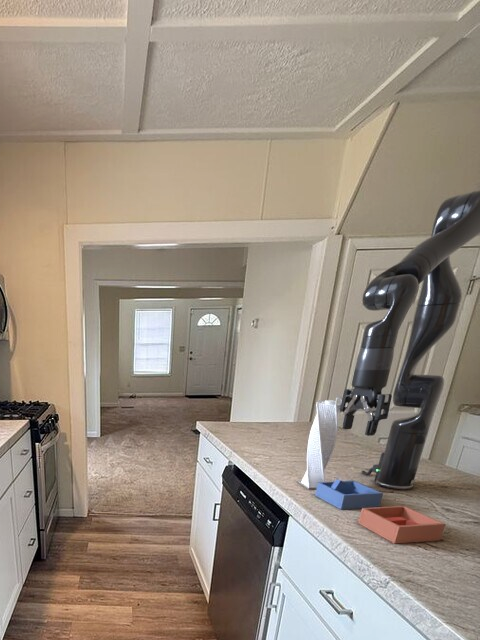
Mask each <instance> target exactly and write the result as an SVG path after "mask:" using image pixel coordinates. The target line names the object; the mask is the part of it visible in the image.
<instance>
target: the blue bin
mask: <svg viewBox="0 0 480 640" xmlns="http://www.w3.org/2000/svg"><path fill="white" fill-rule="evenodd" d="M342 481H343V482H345V483H348V484H350V485H352V486H354V487H355V489H354V490H353V491H355V492H357V493H360V494H344V493H342V492H340V491H337V490H335V489H333V488H331V486H332V485H333V483H334V482H335V481H325V482H318V484H317V489H315V494H314V496H315V497H317V498H319V499H321V500H323V501H325V503H326V502H327V503H328V504H330V505H331V506H334V507H336V508H338V509H340V510H353V509H356V510H357V509H362V508H374V507H381V503H382V499H383V495H384V493H383V492H381V491H379V490H377V489H375V488H372V487H370V486H368V485H365V484H364V483H363V484H362V483H360V482H358V481H356V480H342Z"/></svg>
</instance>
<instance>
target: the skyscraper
mask: <svg viewBox="0 0 480 640" xmlns="http://www.w3.org/2000/svg"><path fill="white" fill-rule="evenodd" d="M342 398H343V396H339V395H338V396H337V397H335V400H333V399H326V400H323V399H320V400H318V401H316V402H315V403H316V404H315V405H316V415H315V417H314V420H313V423H312V425H311V428H310V431H309V435H308V442H307V449H306V451H307V452H306V471H305V473H304V475H303V477H302V479H301V480H298V483H299V484H300V485H301V486H303V487H304V488H306V489H308V490H316V489H317V484H318V482H326V479H325V470H326V468H327V466H328V464H329V462H330V460H331V457H332V454H333V452H334V449H335V446H336V442H337V438H338V428H339V419H338V418H339V417H338V416H339V412H340V406H341V402H342ZM339 399H340V403H339V402H338V401H339Z"/></svg>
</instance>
